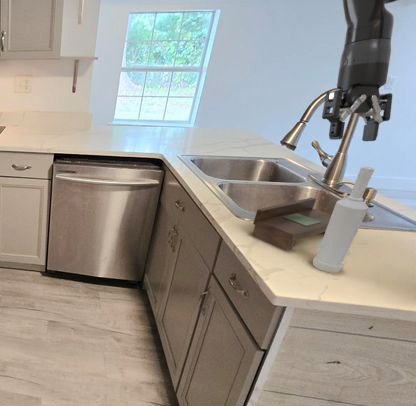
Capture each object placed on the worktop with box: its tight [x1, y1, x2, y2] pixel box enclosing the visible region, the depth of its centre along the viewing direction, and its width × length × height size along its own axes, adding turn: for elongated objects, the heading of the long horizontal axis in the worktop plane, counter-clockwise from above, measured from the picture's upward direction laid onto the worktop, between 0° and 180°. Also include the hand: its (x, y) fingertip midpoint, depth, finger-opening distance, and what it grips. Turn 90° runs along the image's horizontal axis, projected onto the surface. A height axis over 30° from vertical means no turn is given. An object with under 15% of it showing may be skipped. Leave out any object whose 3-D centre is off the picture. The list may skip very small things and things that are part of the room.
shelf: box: [251, 197, 332, 251], centre depth 100 cm, size 10×22×8 cm, turn 109°
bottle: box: [312, 166, 375, 274], centre depth 82 cm, size 5×5×25 cm
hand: (352, 140), depth 81 cm, fingers open, 8 cm apart
